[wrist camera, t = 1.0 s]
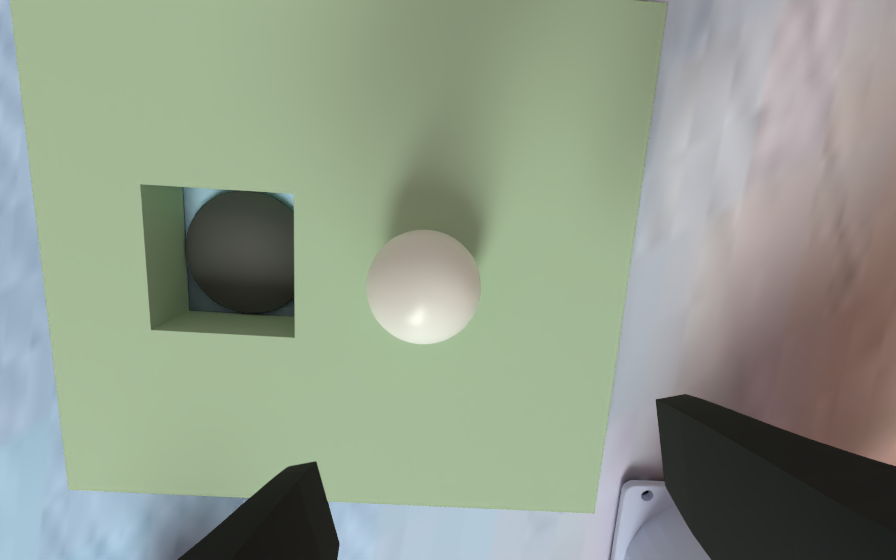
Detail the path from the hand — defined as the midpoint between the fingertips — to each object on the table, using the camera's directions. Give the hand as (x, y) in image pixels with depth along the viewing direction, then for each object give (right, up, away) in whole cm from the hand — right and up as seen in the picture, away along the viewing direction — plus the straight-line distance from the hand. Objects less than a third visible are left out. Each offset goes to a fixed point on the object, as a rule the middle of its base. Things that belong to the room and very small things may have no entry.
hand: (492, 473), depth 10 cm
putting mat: (-5, +5, +9) cm, 11 cm away
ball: (-2, +4, +5) cm, 6 cm away
